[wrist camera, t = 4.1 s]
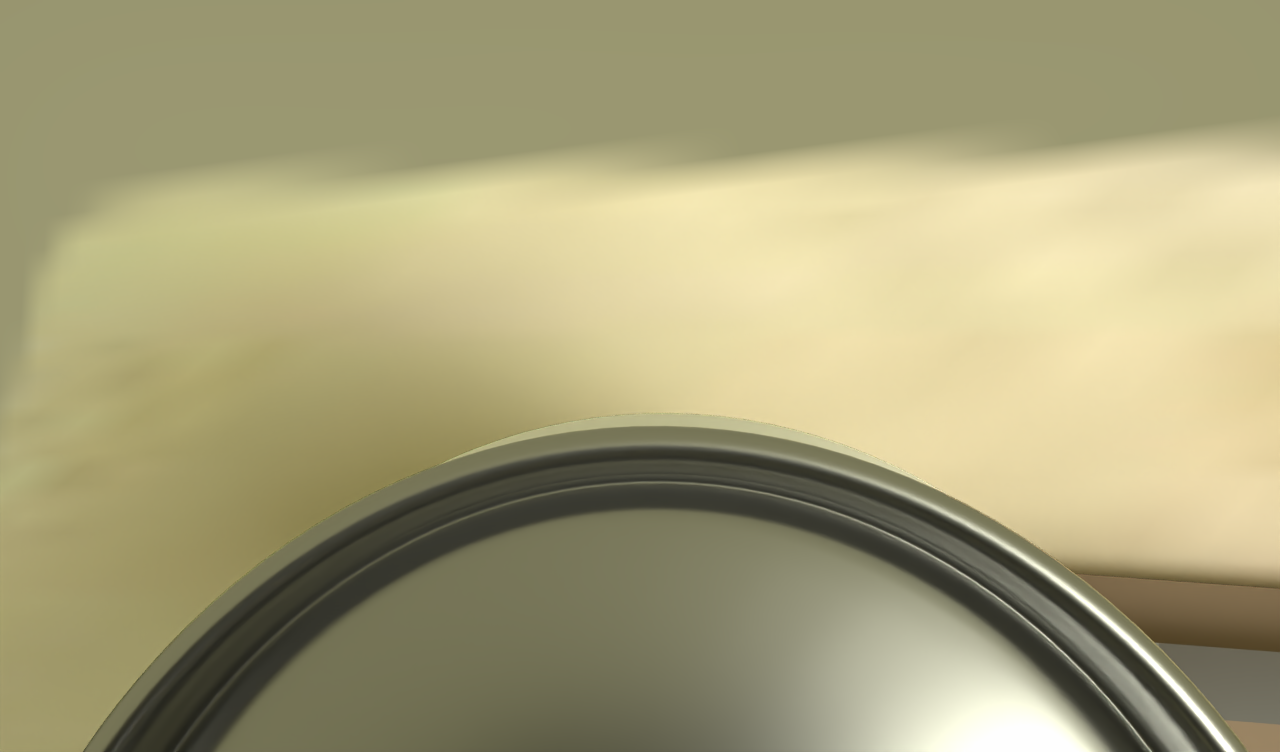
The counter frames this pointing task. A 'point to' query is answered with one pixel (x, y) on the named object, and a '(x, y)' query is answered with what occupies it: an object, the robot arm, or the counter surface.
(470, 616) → the can
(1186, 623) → the holder
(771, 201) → the counter surface
